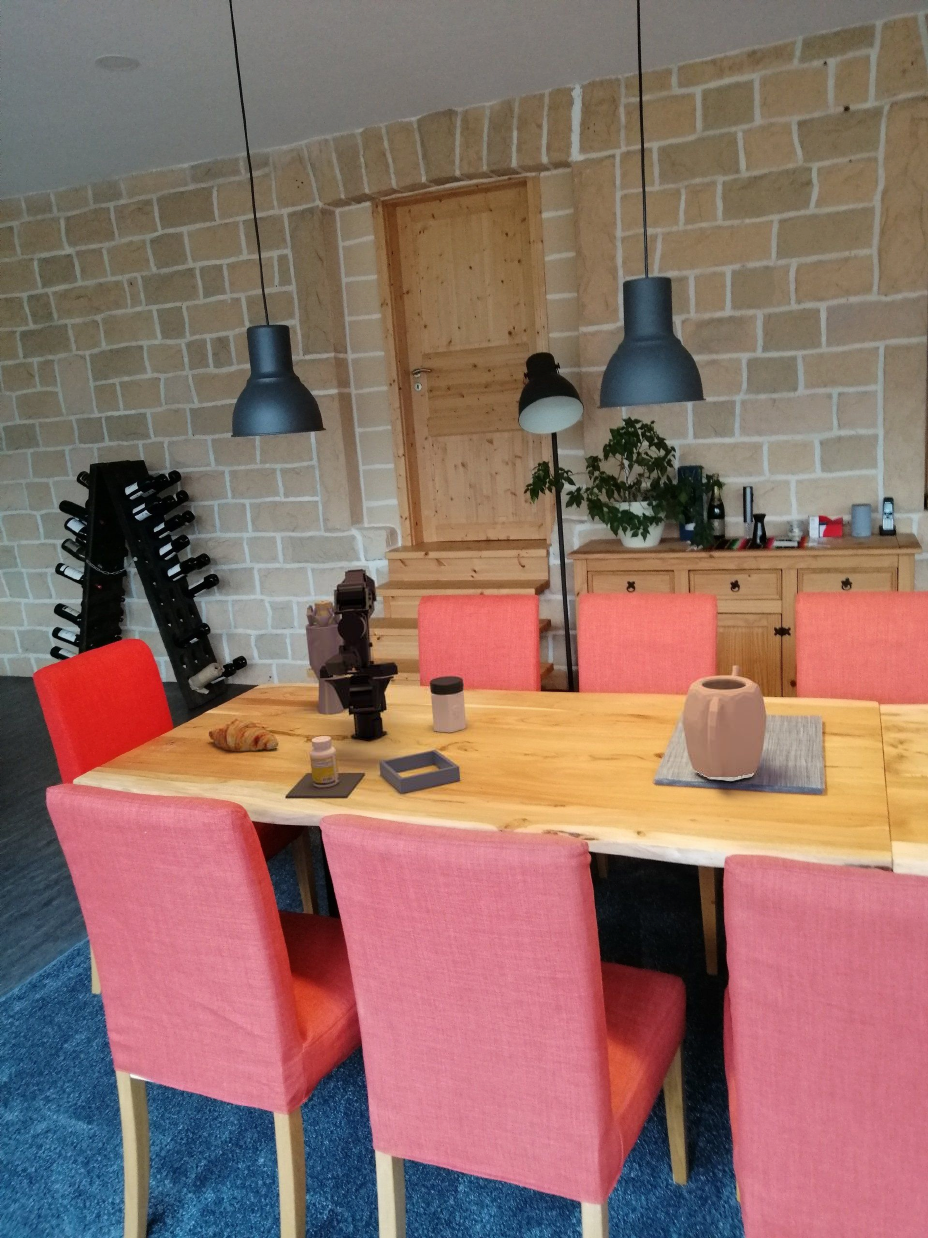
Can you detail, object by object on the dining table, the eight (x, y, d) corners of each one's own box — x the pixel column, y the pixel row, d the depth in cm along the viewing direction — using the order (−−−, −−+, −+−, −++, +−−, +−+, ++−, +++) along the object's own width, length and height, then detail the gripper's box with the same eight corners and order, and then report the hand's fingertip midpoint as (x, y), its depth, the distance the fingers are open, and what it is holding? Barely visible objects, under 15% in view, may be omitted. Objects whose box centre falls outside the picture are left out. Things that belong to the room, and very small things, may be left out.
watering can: (776, 752, 195) (775, 665, 192) (756, 799, 172) (755, 701, 168) (701, 746, 202) (699, 662, 199) (672, 791, 179) (669, 696, 175)
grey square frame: (380, 774, 199) (379, 761, 198) (436, 762, 204) (435, 749, 203) (401, 793, 187) (400, 779, 187) (460, 780, 192) (459, 766, 192)
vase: (350, 713, 247) (339, 602, 242) (311, 716, 247) (300, 604, 241) (354, 702, 257) (343, 595, 252) (316, 705, 257) (305, 598, 252)
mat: (307, 775, 202) (306, 773, 202) (364, 774, 200) (364, 772, 200) (285, 798, 189) (285, 795, 189) (346, 798, 187) (346, 795, 187)
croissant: (287, 760, 224) (294, 727, 225) (261, 754, 215) (269, 719, 217) (219, 751, 233) (226, 719, 235) (192, 744, 224) (199, 711, 226)
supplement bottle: (323, 777, 198) (319, 733, 196) (344, 780, 196) (339, 736, 194) (307, 786, 194) (302, 741, 192) (328, 789, 191) (324, 744, 189)
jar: (443, 735, 223) (439, 687, 220) (425, 728, 229) (421, 681, 227) (474, 727, 227) (470, 679, 225) (456, 720, 234) (452, 673, 232)
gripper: (299, 644, 206) (305, 714, 207) (363, 640, 196) (369, 714, 196) (333, 639, 215) (339, 706, 216) (396, 636, 205) (402, 707, 205)
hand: (361, 709), depth 208 cm, fingers open, 9 cm apart
